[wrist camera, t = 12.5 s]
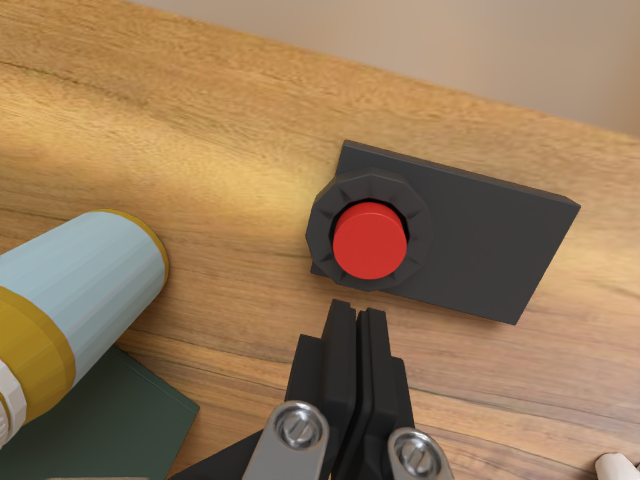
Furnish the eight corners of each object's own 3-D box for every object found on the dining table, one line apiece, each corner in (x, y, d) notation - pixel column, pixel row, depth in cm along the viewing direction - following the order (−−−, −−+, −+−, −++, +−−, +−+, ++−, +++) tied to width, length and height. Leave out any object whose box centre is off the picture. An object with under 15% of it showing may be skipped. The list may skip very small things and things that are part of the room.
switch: (301, 258, 25) (293, 285, 22) (331, 135, 22) (326, 146, 18) (506, 310, 25) (527, 345, 22) (566, 196, 22) (602, 217, 18)
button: (327, 254, 21) (325, 269, 20) (344, 194, 20) (343, 204, 18) (391, 271, 21) (393, 287, 20) (412, 211, 20) (417, 223, 18)
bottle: (192, 280, 26) (9, 504, 13) (113, 310, 28) (-124, 537, 14) (134, 189, 24) (-166, 341, 10) (52, 228, 26) (-300, 404, 12)
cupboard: (20, 420, 34) (-135, 577, 23) (96, 331, 29) (-56, 480, 18) (114, 479, 36) (12, 648, 25) (200, 406, 31) (118, 578, 20)
